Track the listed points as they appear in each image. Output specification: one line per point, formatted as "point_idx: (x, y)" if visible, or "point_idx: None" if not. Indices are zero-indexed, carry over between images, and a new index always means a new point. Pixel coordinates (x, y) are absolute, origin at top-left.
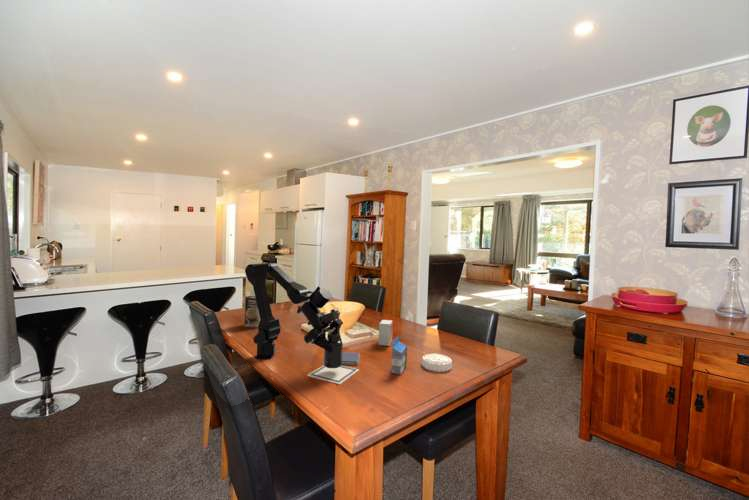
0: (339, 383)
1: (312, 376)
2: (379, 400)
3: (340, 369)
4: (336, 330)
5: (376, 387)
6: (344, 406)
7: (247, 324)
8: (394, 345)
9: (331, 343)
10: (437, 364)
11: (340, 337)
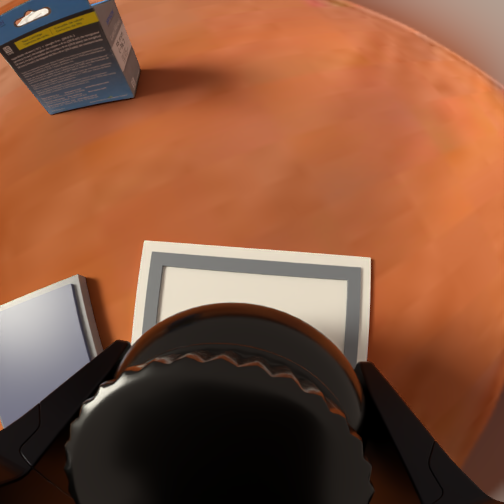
0: (369, 260)
1: None
2: (386, 75)
3: None
4: (4, 499)
5: (301, 99)
6: (484, 165)
7: None
8: (59, 15)
9: (354, 420)
10: None
11: (51, 401)
